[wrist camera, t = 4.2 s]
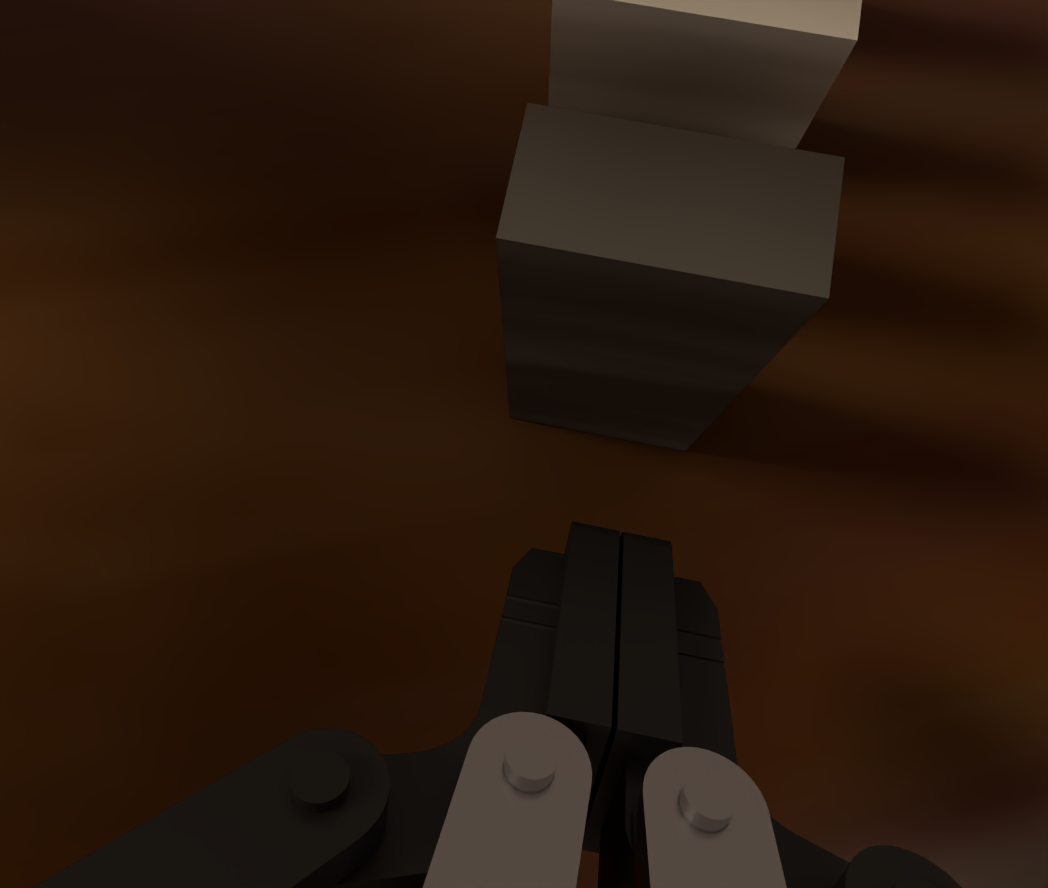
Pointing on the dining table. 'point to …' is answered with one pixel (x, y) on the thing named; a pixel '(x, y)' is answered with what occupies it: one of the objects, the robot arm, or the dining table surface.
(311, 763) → the robot arm
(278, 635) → the dining table surface
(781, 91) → the domino
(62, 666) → the dining table surface
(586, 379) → the domino
